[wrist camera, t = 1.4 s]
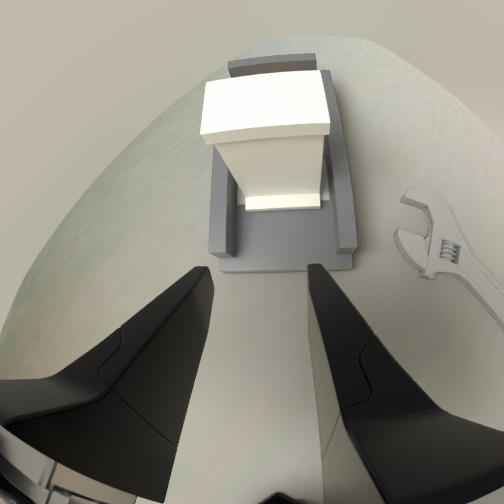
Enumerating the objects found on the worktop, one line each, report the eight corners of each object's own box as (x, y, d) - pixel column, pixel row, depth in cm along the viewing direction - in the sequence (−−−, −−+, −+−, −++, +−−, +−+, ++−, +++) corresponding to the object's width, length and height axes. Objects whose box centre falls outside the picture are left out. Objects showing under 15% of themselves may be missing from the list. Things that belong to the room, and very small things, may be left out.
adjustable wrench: (543, 353, 16) (552, 354, 14) (514, 401, 16) (522, 405, 14) (415, 184, 22) (422, 176, 20) (374, 234, 22) (380, 229, 20)
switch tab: (322, 208, 21) (332, 135, 11) (244, 212, 22) (198, 146, 12) (317, 151, 22) (318, 62, 12) (244, 156, 23) (207, 74, 13)
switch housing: (349, 269, 21) (362, 258, 16) (224, 273, 23) (200, 263, 18) (327, 90, 25) (328, 51, 19) (230, 98, 26) (215, 62, 21)
